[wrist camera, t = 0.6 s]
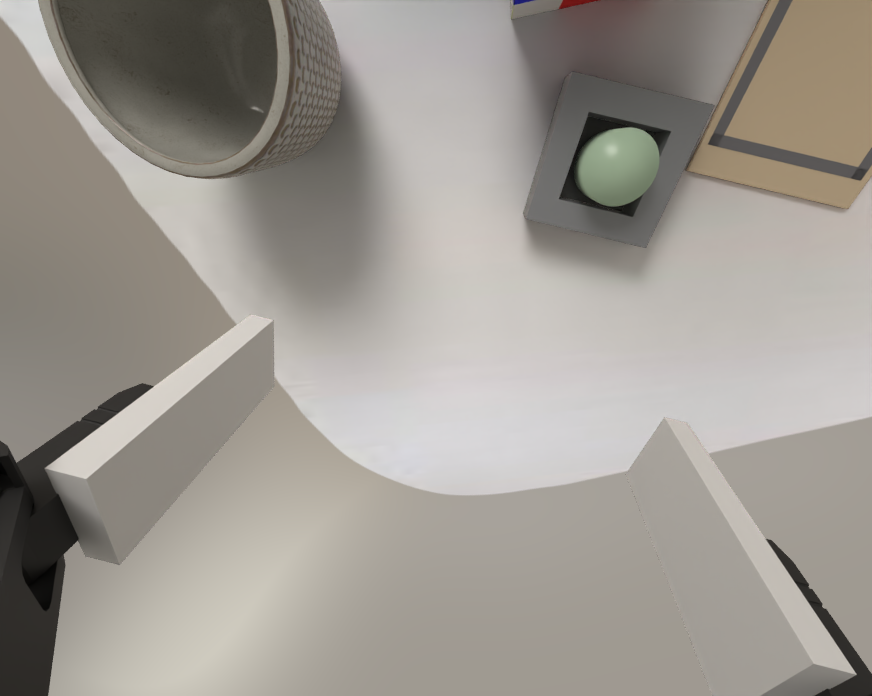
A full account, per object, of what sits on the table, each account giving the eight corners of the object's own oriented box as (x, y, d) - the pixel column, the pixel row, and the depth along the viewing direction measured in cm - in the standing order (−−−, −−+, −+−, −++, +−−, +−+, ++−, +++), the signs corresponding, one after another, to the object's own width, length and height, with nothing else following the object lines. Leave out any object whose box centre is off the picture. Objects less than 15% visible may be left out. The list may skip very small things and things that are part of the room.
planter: (346, 191, 35) (276, 214, 23) (199, 135, 34) (52, 131, 23) (385, -1, 28) (313, -100, 17) (202, -75, 27) (-4, -231, 16)
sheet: (825, -117, 23) (829, -121, 22) (1039, -68, 23) (1046, -71, 22) (686, 170, 31) (687, 170, 30) (844, 208, 30) (848, 209, 30)
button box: (564, 78, 29) (572, 71, 26) (694, 108, 29) (714, 104, 26) (523, 213, 34) (525, 218, 31) (633, 239, 33) (645, 247, 31)
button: (588, 122, 29) (600, 119, 25) (653, 137, 28) (673, 136, 25) (564, 192, 31) (572, 197, 28) (624, 206, 31) (638, 213, 28)
